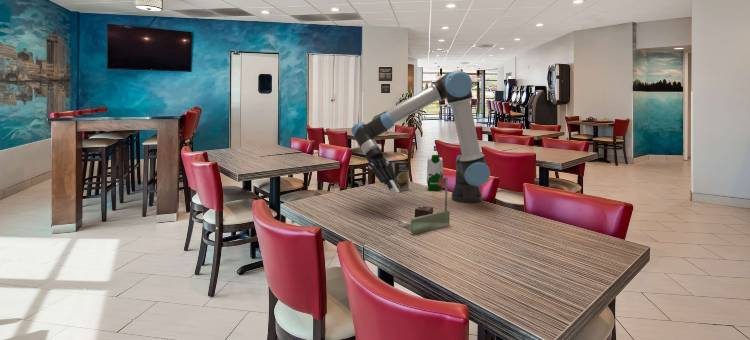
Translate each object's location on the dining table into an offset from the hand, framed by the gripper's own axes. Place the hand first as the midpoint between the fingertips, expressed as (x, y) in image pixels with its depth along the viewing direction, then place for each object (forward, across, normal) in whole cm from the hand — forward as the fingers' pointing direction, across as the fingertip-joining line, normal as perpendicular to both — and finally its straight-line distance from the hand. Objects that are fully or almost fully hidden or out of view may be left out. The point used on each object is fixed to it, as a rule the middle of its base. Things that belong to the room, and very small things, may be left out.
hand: (396, 193), depth 188 cm
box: (+19, -1, +3) cm, 19 cm away
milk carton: (-12, -54, -29) cm, 63 cm away
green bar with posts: (+18, +1, +3) cm, 18 cm away
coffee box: (-21, -38, -37) cm, 57 cm away
